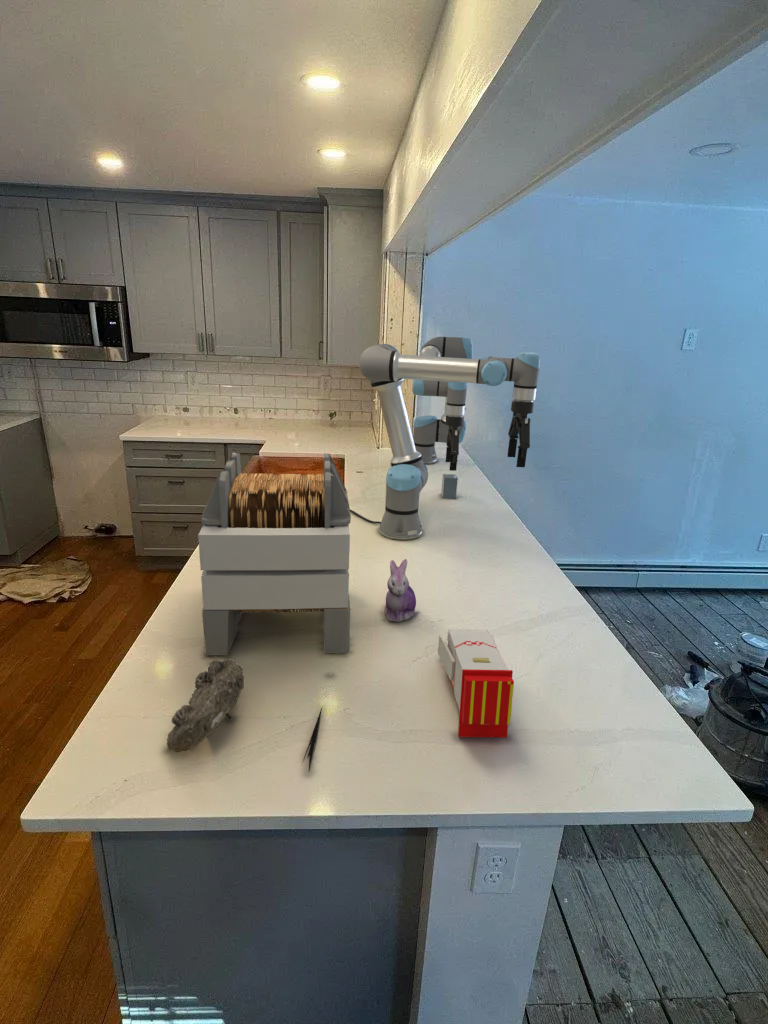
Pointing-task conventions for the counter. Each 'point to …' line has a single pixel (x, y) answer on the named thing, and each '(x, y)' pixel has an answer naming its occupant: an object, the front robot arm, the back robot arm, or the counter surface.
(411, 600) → the figurine
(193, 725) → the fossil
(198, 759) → the counter surface
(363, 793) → the counter surface
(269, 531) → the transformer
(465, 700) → the toy
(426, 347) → the back robot arm
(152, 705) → the counter surface
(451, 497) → the brick
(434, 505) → the counter surface
